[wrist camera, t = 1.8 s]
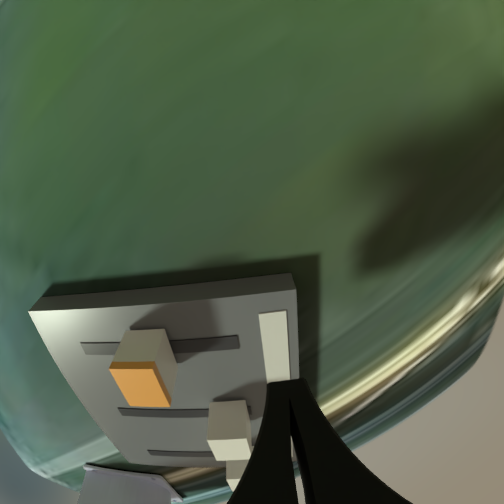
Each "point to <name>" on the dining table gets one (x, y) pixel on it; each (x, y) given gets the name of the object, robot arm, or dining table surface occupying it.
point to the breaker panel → (181, 364)
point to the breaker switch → (145, 368)
